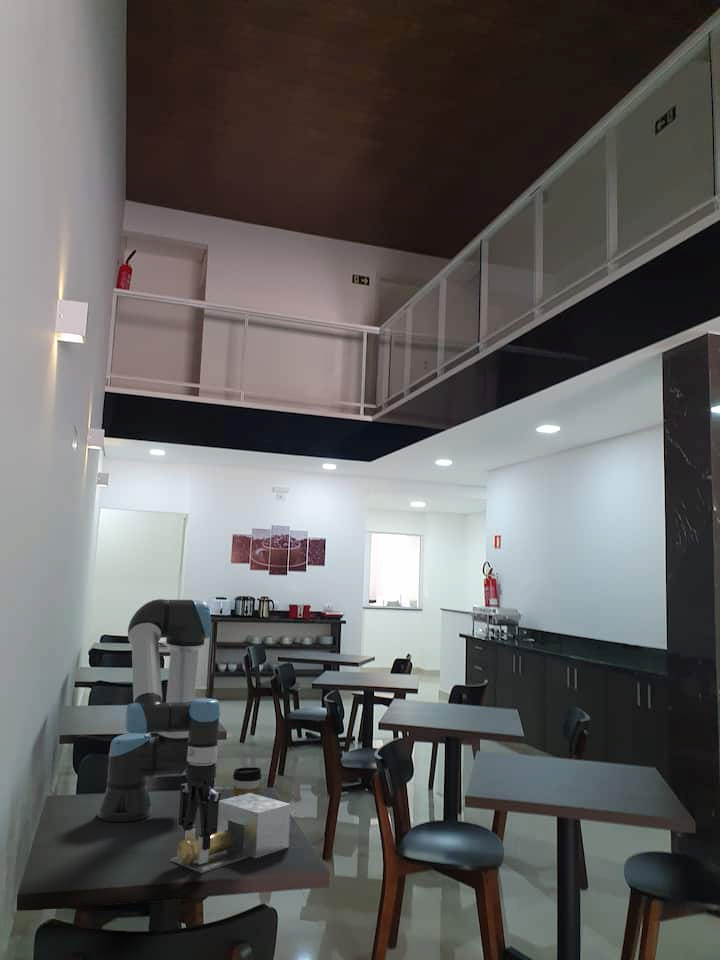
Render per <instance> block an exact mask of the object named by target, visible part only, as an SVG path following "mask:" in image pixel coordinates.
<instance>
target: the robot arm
mask: <svg viewBox="0 0 720 960" xmlns="http://www.w3.org/2000/svg"><path fill="white" fill-rule="evenodd" d="M211 632H212V620H211V612H210V607H209V605H208V603H207V602H206V601H203V600H197V599H196V600H195V599H163V598H162V599H160V598H158V599H154V600H151V601H148V602H147V603H145V604H143V605H142V606H141V607H139V609H137V611H136V612H135V613H134V614H133V616H132V617H131V619H130V622H129V625H128V628H127V639H128V642H129V643H130V644H131V661H132V694H133V696H132V699H133V700H132V701H133V703H128V704H127V706H126V710H125V724H124V725H125V726H124V727H125V731H126V732H127V733H123V734H120V735H118V736H116V737H114V738H113V739H112V741H111V742H110V748H109V753H108V757H109V759H108V760H109V761H108V770H107V771H108V772H107V779H106V780H107V781H106V790H105V793H104V795H103V797H102V800H101V803H100V806H99V808H98V815H97V816H98V818H99V819H100V820H102V821H106V822H110V823H111V822H112V823H128V822H136V821H139V820H144V819H147V818H148V817H150V816H151V814H152V803H151V799H150V795H149V789H148V778H158V777H159V778H162V777H181V776H185V779H187V782H186V783H182V784H179V792H180V796H179V798H180V799H179V813H178V825H179V826H181V827H182V830H183V840H192V839H195V838H196V830H197V829H196V824H195V821H196V817H197V812H198V808H199V818H200V830H201V834H198V837H199V846H198V863H197V864H199V865H200V864H203V863H206V862H208V854H209V849H210V839H211V835H212V834H215V833H217V828H218V809H219V800H221V796H222V794H221V792H220V791H216V790H214V785H213V782H214V779H215V778H216V776H217V763H216V762H217V760H218V743H219V742H218V739H219V726H220V724H219V722H220V716H221V712H220V701H219V700H217V699H216V698H215V699H214V698H204V697H202V698H195V696H196V683H197V674H198V673H197V672H198V660H199V650H200V649H201V648H202V647H203V646H204V645H205V639H206V640H207V639H210V637H211V634H212V633H211ZM162 638H163V639H164V638H165V639H166V642H165V643H166V644H167V646H168V647H169V650H170V653H169V664H168V665H169V666H168V676H167V687H166V699H165V702H163V689H162V675H161V674H162V673H161V660H160V658H161V657H160V646H159V645H160V644H159V642H160V641H161V639H162ZM153 733H157V736H152V734H153Z"/></svg>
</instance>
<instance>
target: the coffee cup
mask: <svg viewBox="0 0 720 960" xmlns="http://www.w3.org/2000/svg"><path fill="white" fill-rule="evenodd" d="M261 771H262V770H261V768H260V767H256V766H255V767H251V766H250V767H249V766H248V767H247V766H246V767H237V768H235V769H234V771H233V774H232V779H233V781H234V782H233V783H234V785H233V797H235V796H239V795H243V794H247V793H253V794H256V795H260V794H259V793H260V780H261V779H262V773H261Z"/></svg>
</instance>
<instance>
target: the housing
mask: <svg viewBox="0 0 720 960" xmlns="http://www.w3.org/2000/svg"><path fill="white" fill-rule="evenodd" d="M290 822H291V803H288V802H284V801H281V800H277V799H274V798H271V797H267V796H263V795H261V794H258V795H256V794H253V793H247V794H243V795H239V796H235V797H234V796H232V797H228V798H224V799H220V800H219V809H218V828H217V832H219V831H223V830H229V831H230V832H231V834H232V836H233V845H232V847H231V848H230V849H229V850H226V851H222V852H219V853H216V854H213V855H210V856H208V862H206V863H203V864H200V865H199V864H197V863H198V859H197V860H194V861H192V862H191V863H190V864H188V865H183V864H181V863H180V861H179V859H178V856H174V857H170V862H172V863H174V864H177V865H180V866H182V867H184V868H187V869H190V870H192V871H194V872H197V873H199V874H204V873H207V872H210V871H213V870H216V869H217V868H222V867H224V866H227V865H231V864H233V863H235V862H238V861H241V860H245V859H248V858H254V859H258V857H259V858H262V857H264V855H265V856H267V854H268V855H270V853H271V854H274V853H276V852H279V851H282V850H284V849H287V848H290V825H291V824H290ZM261 856H262V857H261Z"/></svg>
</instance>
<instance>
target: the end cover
mask: <svg viewBox="0 0 720 960" xmlns="http://www.w3.org/2000/svg"><path fill="white" fill-rule="evenodd" d="M232 845H233V836H232V834H231V832H230V831H229V830H223V831H219V832H217V833H215V834H212V835H211V839H210V849H209V854H208V856H210V855H213V854H216V853H219V852H222V851H226V850H229V849H230V848H231V847H232ZM198 846H199V836H198V837H195V839H192V840H184V839H182V840H180V841H179V842H178V844H177V848H176V855H177V856H178V859H179V861H180V863H181V864H183V865H188V864H190V863H191V862H192V861H194V860H197V859H198ZM177 856H176V857H177Z"/></svg>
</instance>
